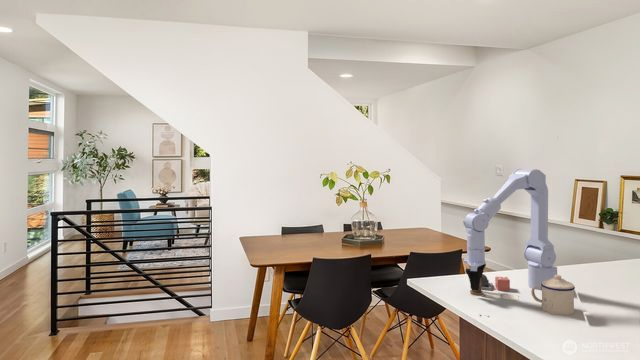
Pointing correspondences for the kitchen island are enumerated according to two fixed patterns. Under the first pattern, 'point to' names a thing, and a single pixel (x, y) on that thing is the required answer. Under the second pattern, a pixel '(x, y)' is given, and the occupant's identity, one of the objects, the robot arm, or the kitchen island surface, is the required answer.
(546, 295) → the teacup with lid
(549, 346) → the kitchen island surface
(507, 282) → the die
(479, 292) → the flanged wooden peg
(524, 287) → the kitchen island surface
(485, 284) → the dark gray round knob
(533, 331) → the kitchen island surface
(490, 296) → the board
